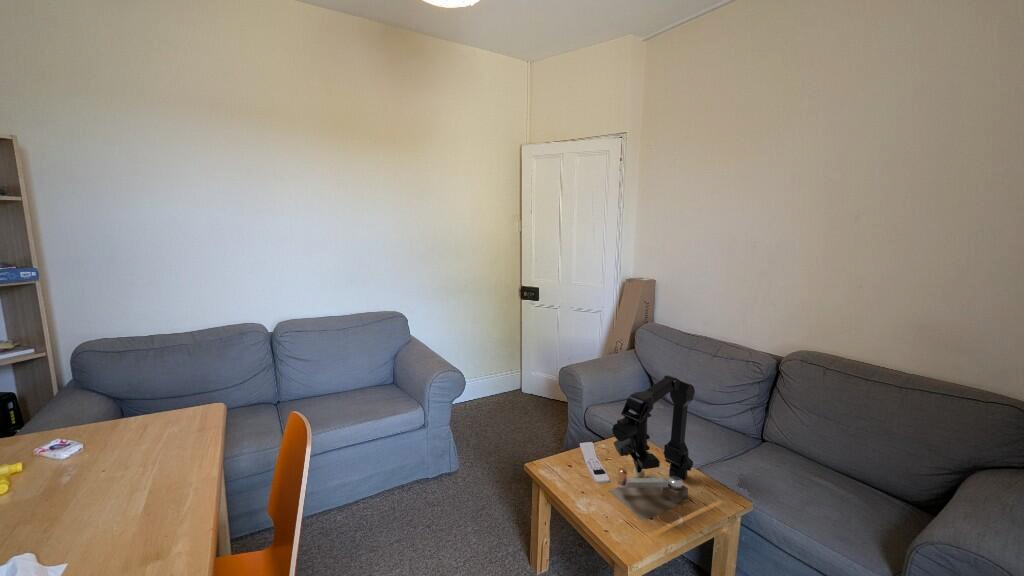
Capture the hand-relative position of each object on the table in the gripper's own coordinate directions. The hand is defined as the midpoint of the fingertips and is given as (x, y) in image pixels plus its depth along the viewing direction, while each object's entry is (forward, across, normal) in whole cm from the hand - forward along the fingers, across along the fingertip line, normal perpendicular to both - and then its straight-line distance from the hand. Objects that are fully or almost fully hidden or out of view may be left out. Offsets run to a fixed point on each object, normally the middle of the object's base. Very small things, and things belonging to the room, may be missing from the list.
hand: (638, 472), depth 146 cm
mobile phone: (+13, -22, -8) cm, 27 cm away
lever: (+7, -1, +5) cm, 8 cm away
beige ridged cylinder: (+11, -8, +4) cm, 14 cm away
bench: (+12, -2, +5) cm, 13 cm away
